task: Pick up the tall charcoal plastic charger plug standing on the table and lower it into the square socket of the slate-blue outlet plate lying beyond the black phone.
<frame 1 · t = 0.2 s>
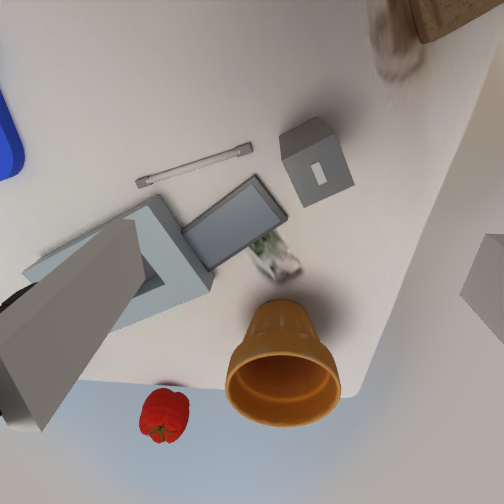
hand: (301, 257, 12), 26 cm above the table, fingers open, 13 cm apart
outlet plate: (127, 266, 45), on the table
charger plug: (304, 145, 35), on the table
usb cable: (192, 165, 37), on the table
phone: (229, 226, 41), on the table
flower pot: (280, 320, 49), on the table
tomato: (171, 396, 60), on the table
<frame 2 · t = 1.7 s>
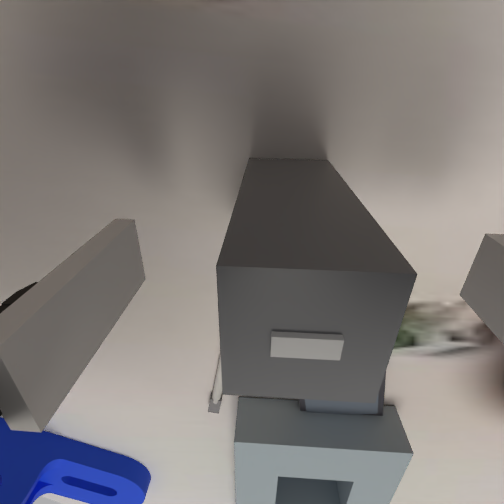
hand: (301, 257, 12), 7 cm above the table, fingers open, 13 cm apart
outlet plate: (304, 466, 33), on the table
charger plug: (285, 197, 18), on the table
usb cable: (226, 348, 25), on the table
phone: (337, 354, 24), on the table
bracket: (76, 456, 35), on the table
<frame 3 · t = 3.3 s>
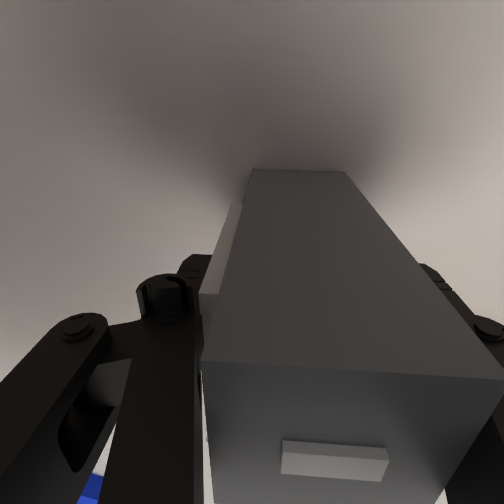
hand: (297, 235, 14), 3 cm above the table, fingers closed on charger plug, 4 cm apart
charger plug: (294, 213, 16), on the table, touching gripper
bracket: (66, 480, 33), on the table
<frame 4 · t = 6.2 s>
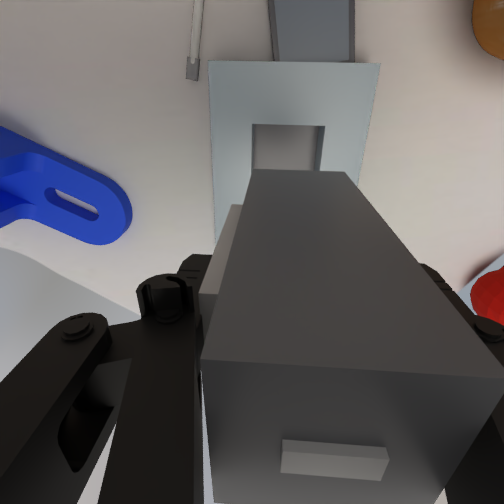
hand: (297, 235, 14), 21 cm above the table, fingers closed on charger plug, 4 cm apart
outlet plate: (282, 181, 33), on the table
charger plug: (294, 213, 16), point 18 cm above the table, touching gripper
bracket: (59, 187, 36), on the table
tomato: (499, 284, 38), on the table
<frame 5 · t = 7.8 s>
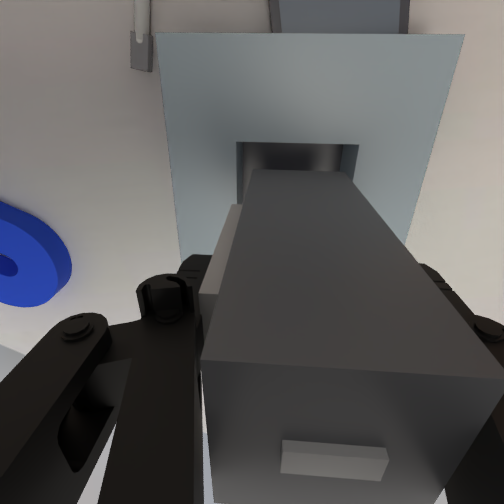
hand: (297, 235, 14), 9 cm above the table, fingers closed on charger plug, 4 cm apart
outlet plate: (286, 222, 23), on the table
charger plug: (294, 213, 16), point 6 cm above the table, touching gripper
when the fingers open (6 cm above the table, at t = 9.0 s): charger plug drops 3 cm, resting on outlet plate.
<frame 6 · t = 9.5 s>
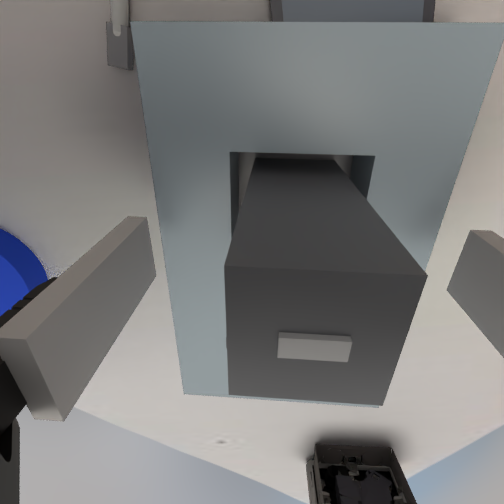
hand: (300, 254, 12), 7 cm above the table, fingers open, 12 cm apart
outlet plate: (288, 239, 20), on the table
charger plug: (291, 196, 18), resting on outlet plate
electrical switch: (349, 449, 31), on the table
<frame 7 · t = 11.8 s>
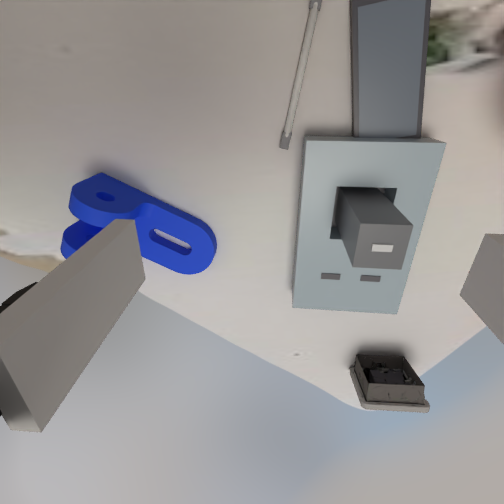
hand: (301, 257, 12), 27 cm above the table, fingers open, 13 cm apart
outlet plate: (350, 225, 40), on the table
charger plug: (354, 204, 38), resting on outlet plate
usb cable: (299, 76, 33), on the table
electrical switch: (377, 359, 51), on the table
phone: (386, 76, 32), on the table
bracket: (157, 226, 43), on the table
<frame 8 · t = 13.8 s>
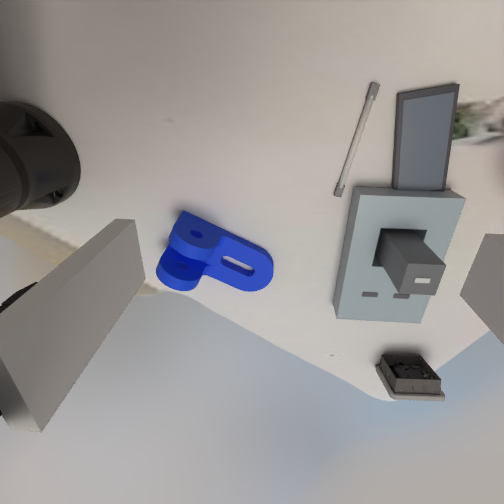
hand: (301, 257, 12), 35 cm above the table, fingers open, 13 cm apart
outlet plate: (385, 253, 50), on the table
charger plug: (389, 237, 48), resting on outlet plate
usb cable: (354, 144, 42), on the table
electrical switch: (398, 358, 61), on the table
phone: (420, 145, 42), on the table
bracket: (224, 252, 52), on the table
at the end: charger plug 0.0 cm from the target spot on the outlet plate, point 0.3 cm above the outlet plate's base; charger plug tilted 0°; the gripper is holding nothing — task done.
